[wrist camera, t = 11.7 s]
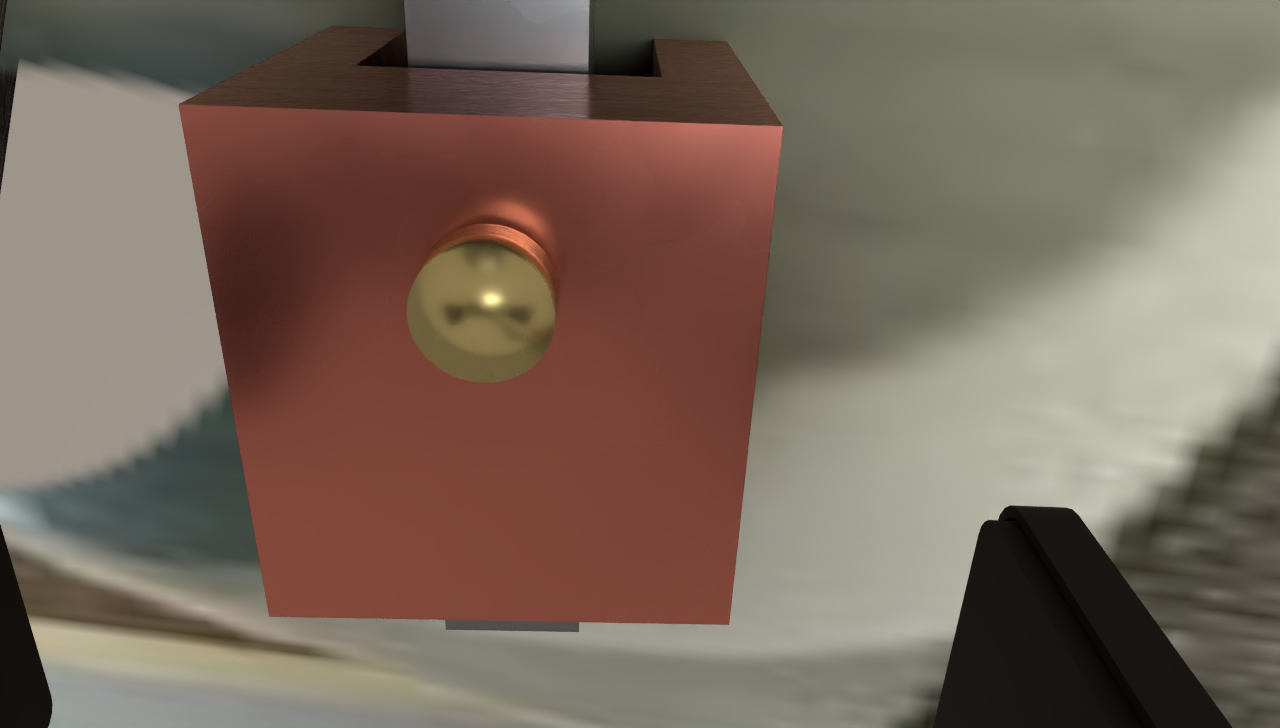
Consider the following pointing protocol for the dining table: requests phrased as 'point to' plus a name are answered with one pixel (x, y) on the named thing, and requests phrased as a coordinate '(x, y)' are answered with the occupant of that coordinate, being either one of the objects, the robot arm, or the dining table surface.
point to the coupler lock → (489, 327)
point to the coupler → (502, 41)
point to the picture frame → (5, 97)
